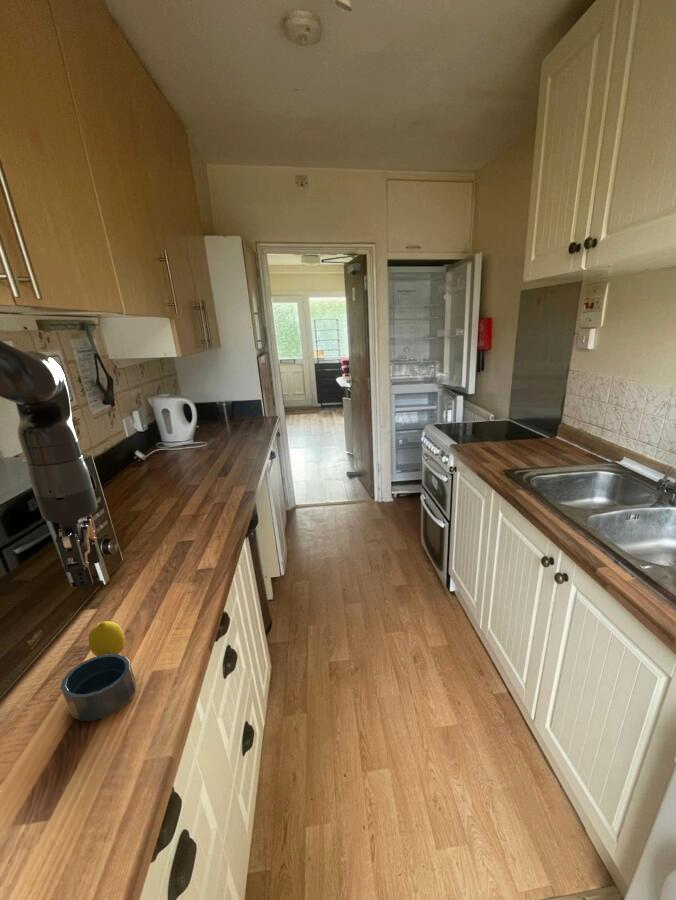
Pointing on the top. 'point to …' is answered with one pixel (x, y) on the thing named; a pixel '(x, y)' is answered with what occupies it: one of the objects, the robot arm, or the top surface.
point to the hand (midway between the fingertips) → (89, 574)
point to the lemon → (106, 639)
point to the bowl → (98, 687)
